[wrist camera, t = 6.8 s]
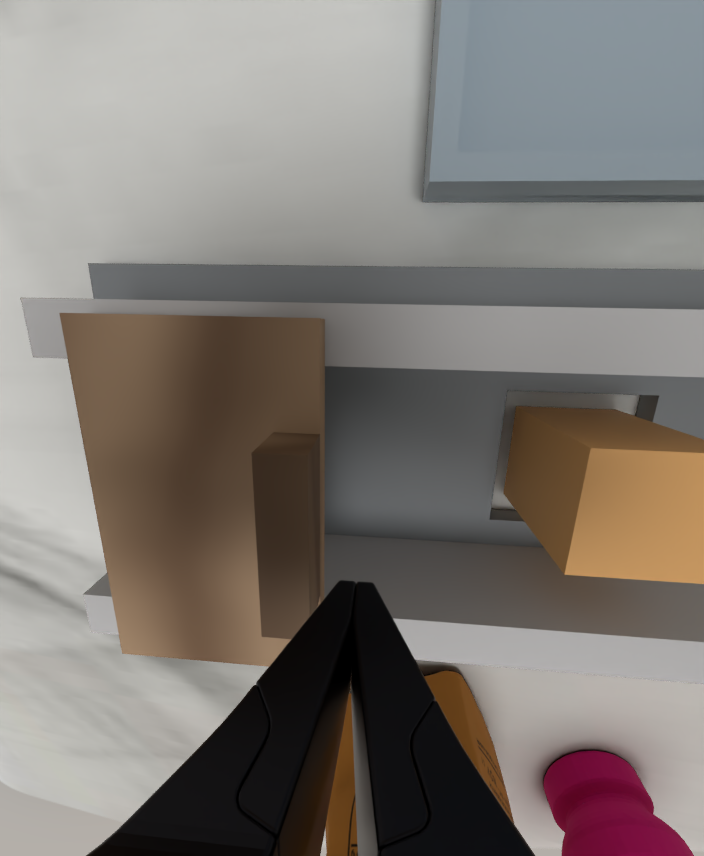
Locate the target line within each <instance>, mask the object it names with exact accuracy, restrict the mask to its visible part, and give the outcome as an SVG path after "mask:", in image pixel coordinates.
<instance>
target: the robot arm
mask: <svg viewBox="0 0 704 856" xmlns="http://www.w3.org/2000/svg"><path fill="white" fill-rule="evenodd" d="M350 683H351V704H352V728H353V751H354V774H355V798H356V821H357V845H358V856H535V855H534V853H533V852H532V850H531V849H530V847H529V846H528V844H527V843H526V841H525V840H524V838H523V837H522V835H521V834H520V832H519V831H518V829H517V828H516V826H515V825H514V824H513V822H512V821H511V819H510V818H509V816H508V815H507V813H506V812H505V810H504V809H503V807H502V806H501V804H500V803H499V801H498V800H497V798H496V797H495V795H494V794H493V792H492V791H491V789H490V788H489V787H488V785H487V784H486V782H485V781H484V779H483V778H482V776H481V774H480V773H479V771H478V770H477V768H476V767H475V765H474V764H473V762H472V760H471V759H470V757H469V756H468V754H467V753H466V751H465V750H464V748H463V746H462V745H461V743H460V741H459V739H458V738H457V736H456V734H455V732H454V731H453V729H452V727H451V725H450V724H449V722H448V720H447V718H446V716H445V715H444V713H443V711H442V709H441V707H440V705H439V703H438V702H437V701H435V696H434V694H433V693H432V691H431V689H430V687H429V685H428V683H427V681H426V679H425V678H424V676H423V674H422V672H421V670H420V668H419V666H418V665H417V663H416V661H415V659H414V657H413V655H412V653H411V651H410V650H409V648H408V646H407V644H406V642H405V640H404V638H403V636H402V635H401V633H400V631H399V629H398V627H397V625H396V623H395V622H394V620H393V618H392V616H391V614H390V612H389V610H388V608H387V607H386V605H385V603H384V601H383V599H382V597H381V595H380V593H379V592H378V590H377V588H376V586H375V584H374V583H373V582H363V581H358V582H357V584H356V582H355V581H348V580H340V581H338V582H337V584H336V585H335V586H334V587H333V589H332V590H331V591H330V592H329V593H328V595H327V596H326V597H325V598H324V600H323V601H322V602H321V603H320V605H319V606H318V607H317V608H316V610H315V611H314V612H313V613H312V614H311V616H310V617H309V618H308V619H307V621H306V622H305V623H304V624H303V626H302V627H301V628H300V629H299V631H298V632H297V633H296V634H295V635H294V637H293V638H292V639H291V640H290V642H289V643H288V644H287V645H286V647H285V648H284V649H283V650H282V652H281V653H280V654H279V655H278V656H277V658H276V659H275V660H274V661H273V663H272V664H271V665H270V666H269V668H268V669H267V670H266V671H265V673H264V674H263V675H262V676H261V677H260V679H259V680H258V681H257V683H256V685H254V686H253V687H252V688H251V689H250V691H249V692H248V693H247V694H246V696H245V697H244V698H243V699H242V701H241V702H240V703H239V704H238V705H237V707H236V708H235V709H234V710H233V711H232V712H231V714H230V715H229V716H228V717H227V718H226V719H225V721H224V722H223V723H222V724H221V725H220V726H219V727H218V728H217V729H216V730H215V731H214V732H213V734H212V735H211V736H210V737H209V738H208V739H207V740H206V741H205V742H204V743H203V744H202V745H201V746H200V747H199V748H198V749H197V750H196V751H195V752H194V753H193V754H192V755H191V756H190V757H189V758H188V759H187V760H186V762H185V763H184V764H183V765H182V766H181V767H180V768H179V769H178V770H177V771H176V772H175V773H174V774H173V775H172V776H171V777H170V778H169V779H168V780H167V781H166V782H165V783H164V784H163V785H162V786H161V787H160V788H159V789H158V790H157V791H156V792H155V793H154V794H153V795H152V796H151V797H150V798H149V799H148V800H147V801H146V802H145V803H144V804H143V805H142V806H141V807H140V808H139V809H138V810H137V811H136V812H135V813H134V814H133V815H132V816H131V817H130V818H129V819H128V820H127V821H126V822H125V823H124V824H123V825H122V826H121V827H120V828H119V829H118V830H117V831H116V832H115V833H113V834H112V835H111V836H110V837H109V838H108V839H106V840H105V841H104V842H103V843H102V844H101V845H99V846H98V847H97V848H95V849H94V850H93V851H92V852H90V853H89V854H88V855H86V856H320V853H321V847H322V842H323V836H324V831H325V825H326V820H327V814H328V809H329V803H330V798H331V792H332V786H333V781H334V775H335V770H336V764H337V759H338V753H339V748H340V742H341V736H342V731H343V725H344V720H345V714H346V709H347V703H348V697H349V691H350Z"/></svg>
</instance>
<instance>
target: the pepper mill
mask: <svg viewBox="0 0 704 856" xmlns="http://www.w3.org/2000/svg"><path fill="white" fill-rule="evenodd" d="M544 791H545V794H546V797H547V800H548V802H549V805H550V808H551V811H552V814H553V817H554V819H555V821H556V823H557V825H558V826H559V827H560V828H561V829H562V830H563V831H564V832H565V836H564V840H563V846H562V856H694V855H693V853H692V851H691V850H690V849H689V847H688V846H687V844H686V843H685V841H684V840H683V839H682V838H681V837H680V836H679V834H678V833H677V832H676V831H675V830H673V829H672V828H671V827H670V826H669V825H667V824H666V823H665V822H664V821H662V820H661V819H659V818H658V817H656V816H655V815H653V811H654V806H653V802H652V800H651V798H650V796H649V795H648V793H647V791H646V789H645V788H644V786H643V784H642V782H641V781H640V779H639V777H638V775H637V774H636V772H635V770H634V769H633V768H632V766H631V765H630V764H628V763H627V762H626V761H625V760H623V759H621V758H620V757H618V756H616V755H614V754H610V753H607V752H601V751H579V752H576V753H572V754H568V755H566V756H564V757H562V758H561V759H559V760H557V761H556V762H554V763H553V764H552V765H551V766H550V767H549V768H548V771H547V773H546V775H545V777H544Z"/></svg>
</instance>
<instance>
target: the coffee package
mask: <svg viewBox="0 0 704 856" xmlns="http://www.w3.org/2000/svg"><path fill="white" fill-rule="evenodd" d="M424 678H425V679H426V681H427V683H428V685H429V687H430V689H431V691H432V693H433V694H434V696H435V701H437V702H438V703H439V705H440V707H441V709H442V711H443V713H444V715H445V716H446V718H447V720H448V722H449V724H450V725H451V727H452V729H453V731H454V732H455V734H456V736H457V738H458V739H459V741H460V743H461V745H462V746H463V748H464V750H465V751H466V753H467V754H468V756H469V757H470V759H471V760H472V762H473V764H474V765H475V767H476V768H477V770H478V771H479V773H480V774H481V776H482V778H483V779H484V781H485V782H486V784H487V785H488V787H489V788H490V789H491V791H492V792H493V794H494V795H495V797H496V798H497V800H498V801H499V803H500V804H501V806H502V807H503V809H504V810H505V812H506V813H507V815H508V816H509V818H510V819H511V821H512V822H513V824H514V821H513V817H512V813H511V809H510V805H509V800H508V796H507V793H506V789H505V785H504V781H503V778H502V774H501V770H500V767H499V763H498V760H497V756H496V753H495V749H494V745H493V742H492V740H491V737H490V734H489V732H488V729H487V727H486V724H485V721H484V719H483V716H482V714H481V712H480V710H479V708H478V706H477V704H476V702H475V699H474V697H473V695H472V693H471V691H470V689H469V688H468V686H467V684H466V682H465V681H464V679H463V677H462V676H461V675H460V674H458V673H456V672H452V671H441V672H438V673H436V674H433V675H428V676H424ZM325 828H326V846H327V855H326V856H358V845H357V821H356V798H355V774H354V751H353V728H352V704H351V693H350V694H349V697H348V703H347V709H346V714H345V720H344V725H343V731H342V736H341V742H340V748H339V753H338V759H337V764H336V770H335V775H334V781H333V786H332V792H331V798H330V803H329V809H328V814H327V820H326V825H325Z"/></svg>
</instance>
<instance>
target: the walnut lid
mask: <svg viewBox="0 0 704 856" xmlns="http://www.w3.org/2000/svg"><path fill="white" fill-rule="evenodd" d="M59 314H60V320H61V325H62V331H63V336H64V341H65V347H66V352H67V357H68V363H69V368H70V374H71V379H72V384H73V390H74V395H75V401H76V406H77V411H78V417H79V422H80V428H81V433H82V438H83V444H84V449H85V455H86V460H87V465H88V471H89V476H90V482H91V487H92V492H93V498H94V503H95V509H96V514H97V519H98V525H99V530H100V536H101V541H102V546H103V552H104V557H105V563H106V568H107V573H108V579H109V584H110V590H111V595H112V600H113V606H114V611H115V616H116V622H117V627H118V633H119V638H120V643H121V649H122V654H134V655H145V656H156V657H168V658H179V659H190V660H202V661H213V662H224V663H236V664H247V665H258V666H270V665H271V664H272V663H273V661H274V660H275V659H276V658H277V656H278V655H279V654H280V653H281V652H282V650H283V649H284V648H285V647H286V645H287V644H288V643H289V642H290V640H291V639H292V638H293V637H294V635H295V634H296V633H297V632H298V631H299V629H300V628H301V627H302V626H303V624H304V623H305V622H306V621H307V619H308V618H309V617H310V616H311V614H312V613H313V612H314V611H315V610H316V608H317V607H318V606H319V605H320V603H321V602H322V601H323V600H324V551H325V319H322V318H290V317H241V316H192V315H144V314H95V313H59Z"/></svg>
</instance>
